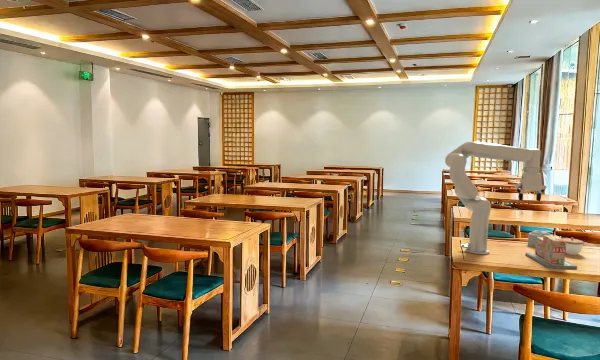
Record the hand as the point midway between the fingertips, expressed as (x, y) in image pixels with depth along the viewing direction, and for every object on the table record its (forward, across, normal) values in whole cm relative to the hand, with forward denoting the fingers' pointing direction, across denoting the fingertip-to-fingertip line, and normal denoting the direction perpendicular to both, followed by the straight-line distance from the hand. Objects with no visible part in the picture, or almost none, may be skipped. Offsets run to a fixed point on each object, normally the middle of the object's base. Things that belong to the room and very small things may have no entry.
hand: (529, 200), depth 236 cm
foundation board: (+30, +4, -18) cm, 35 cm away
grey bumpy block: (+31, +17, +19) cm, 40 cm away
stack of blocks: (+29, +4, -18) cm, 34 cm away
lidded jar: (+31, +26, +1) cm, 40 cm away
